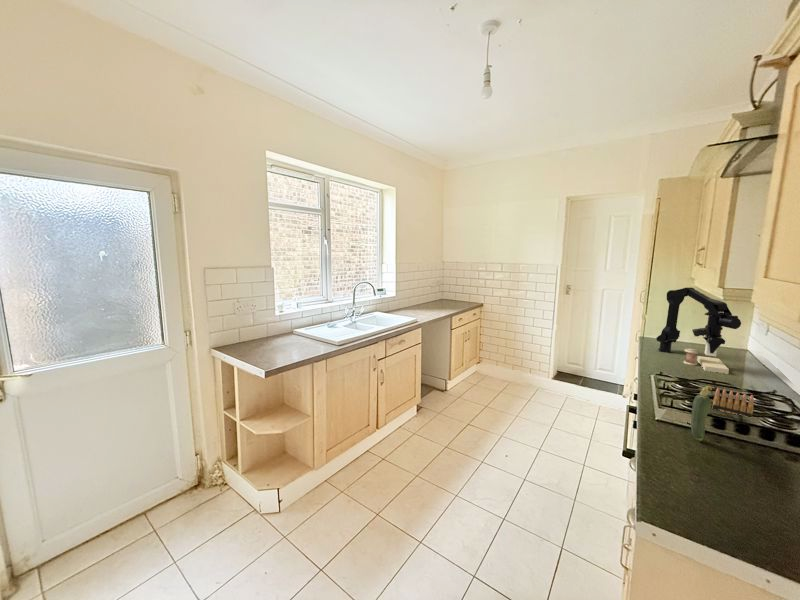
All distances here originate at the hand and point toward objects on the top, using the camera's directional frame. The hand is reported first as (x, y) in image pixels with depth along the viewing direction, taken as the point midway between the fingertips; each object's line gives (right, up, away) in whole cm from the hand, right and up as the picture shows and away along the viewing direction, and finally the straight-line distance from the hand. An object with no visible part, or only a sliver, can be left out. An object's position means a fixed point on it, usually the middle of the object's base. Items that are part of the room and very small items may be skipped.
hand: (710, 352), depth 176 cm
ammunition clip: (-46, -17, -55) cm, 74 cm away
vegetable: (-70, -19, -67) cm, 98 cm away
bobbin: (-6, -8, +5) cm, 11 cm away
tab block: (0, -2, 0) cm, 2 cm away
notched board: (+1, -8, 0) cm, 8 cm away
